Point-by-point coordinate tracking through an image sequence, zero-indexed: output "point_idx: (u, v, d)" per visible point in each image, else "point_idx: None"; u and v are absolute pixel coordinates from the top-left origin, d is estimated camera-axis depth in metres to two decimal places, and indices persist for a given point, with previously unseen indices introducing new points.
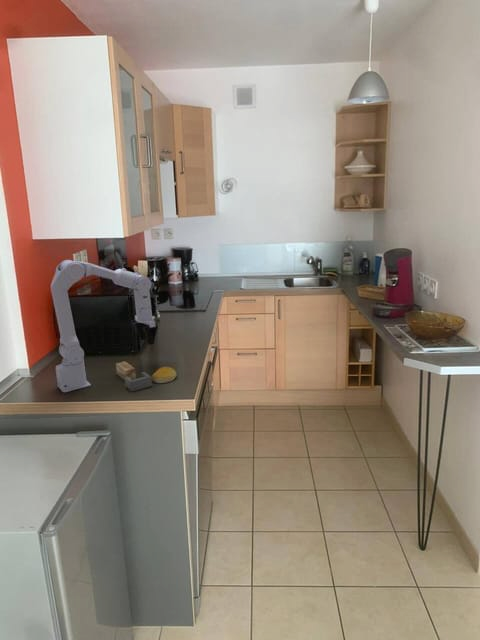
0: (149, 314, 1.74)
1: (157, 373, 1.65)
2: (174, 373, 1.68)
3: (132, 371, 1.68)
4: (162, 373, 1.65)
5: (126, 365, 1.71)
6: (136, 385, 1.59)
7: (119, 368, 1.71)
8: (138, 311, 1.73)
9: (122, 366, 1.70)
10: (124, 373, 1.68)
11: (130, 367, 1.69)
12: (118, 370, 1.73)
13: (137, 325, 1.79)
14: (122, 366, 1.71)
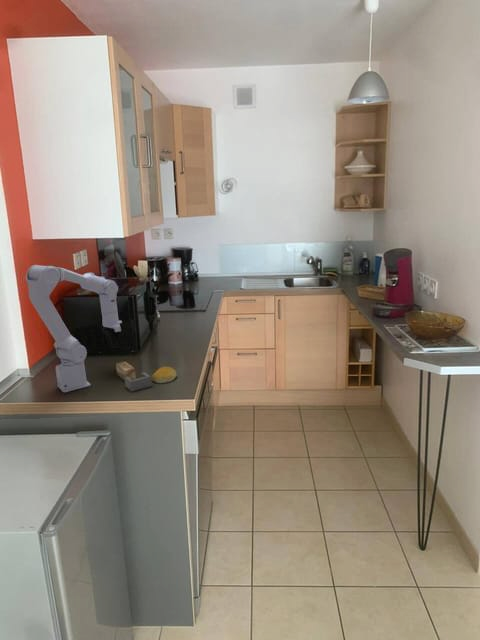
0: (115, 318, 1.73)
1: (157, 373, 1.65)
2: (174, 373, 1.68)
3: (132, 371, 1.68)
4: (162, 373, 1.65)
5: (126, 365, 1.71)
6: (136, 385, 1.59)
7: (119, 368, 1.71)
8: (104, 315, 1.72)
9: (122, 366, 1.70)
10: (124, 373, 1.68)
11: (130, 367, 1.69)
12: (118, 370, 1.73)
13: None
14: (121, 366, 1.71)
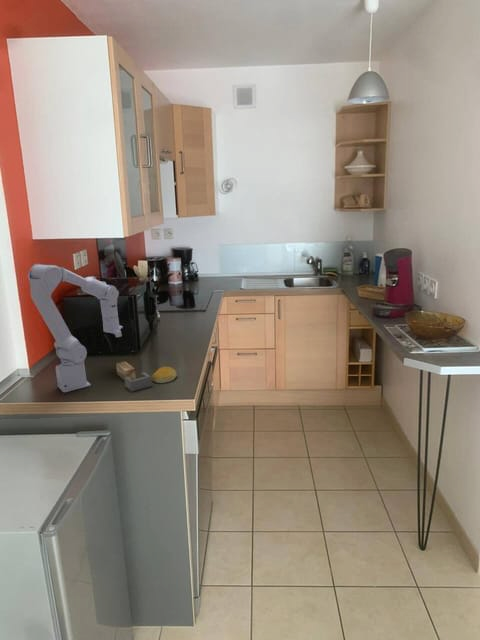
0: (116, 324, 1.74)
1: (157, 373, 1.65)
2: (174, 373, 1.68)
3: (132, 372, 1.68)
4: (162, 373, 1.65)
5: (126, 365, 1.71)
6: (136, 385, 1.59)
7: (119, 368, 1.71)
8: (104, 321, 1.73)
9: (122, 366, 1.70)
10: (124, 373, 1.68)
11: (130, 367, 1.69)
12: (118, 370, 1.73)
13: None
14: (121, 366, 1.71)
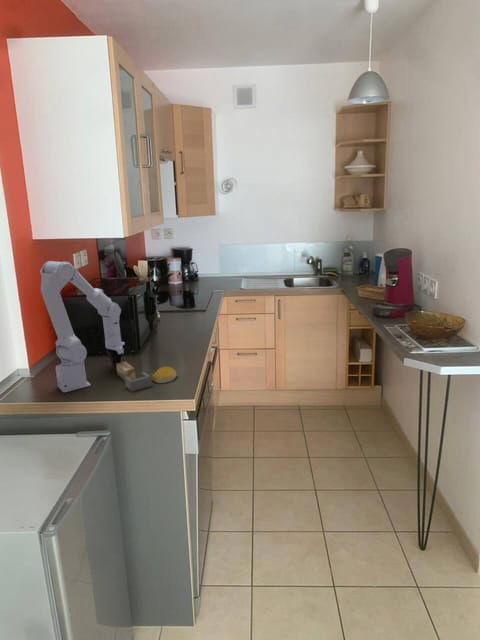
0: (118, 340, 1.75)
1: (157, 373, 1.65)
2: (174, 373, 1.68)
3: (132, 371, 1.67)
4: (162, 373, 1.65)
5: (126, 365, 1.71)
6: (136, 385, 1.59)
7: (119, 368, 1.71)
8: (107, 337, 1.74)
9: (122, 366, 1.70)
10: (124, 373, 1.68)
11: (130, 367, 1.69)
12: (118, 370, 1.73)
13: None
14: (121, 366, 1.71)
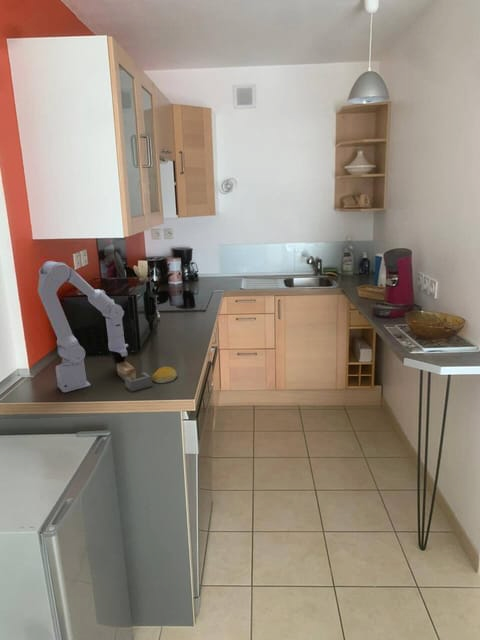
0: (121, 342, 1.72)
1: (157, 373, 1.65)
2: (174, 372, 1.68)
3: (132, 371, 1.67)
4: (162, 373, 1.65)
5: (126, 365, 1.71)
6: (136, 385, 1.59)
7: (119, 368, 1.71)
8: (110, 339, 1.71)
9: (122, 366, 1.70)
10: (124, 373, 1.67)
11: (130, 367, 1.69)
12: (119, 370, 1.72)
13: None
14: (122, 366, 1.71)
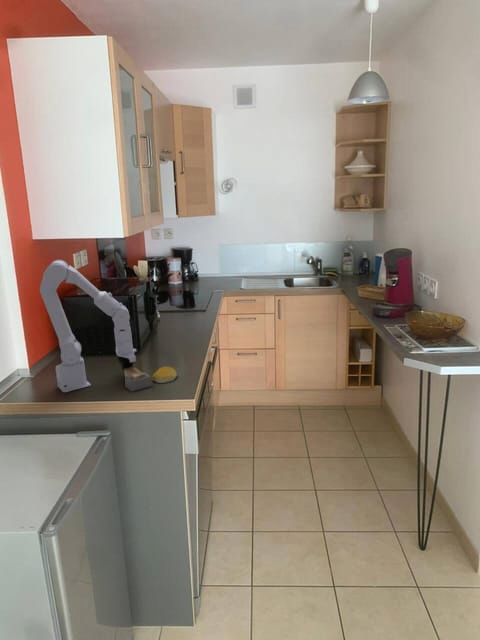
0: (130, 347, 1.66)
1: (158, 373, 1.65)
2: (175, 372, 1.68)
3: (141, 377, 1.61)
4: (163, 373, 1.65)
5: (134, 371, 1.65)
6: (136, 385, 1.59)
7: (128, 374, 1.65)
8: (118, 344, 1.65)
9: (131, 372, 1.63)
10: (133, 379, 1.61)
11: (139, 373, 1.62)
12: (127, 375, 1.66)
13: None
14: (130, 371, 1.64)
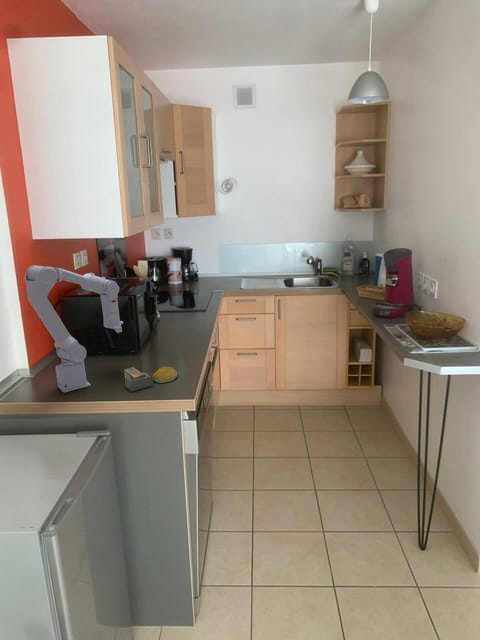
0: (116, 319, 1.72)
1: (158, 373, 1.65)
2: (175, 372, 1.68)
3: None
4: (163, 373, 1.65)
5: (134, 371, 1.65)
6: (136, 385, 1.59)
7: (127, 374, 1.65)
8: (105, 316, 1.71)
9: (131, 373, 1.63)
10: None
11: (139, 373, 1.62)
12: (127, 376, 1.66)
13: None
14: (130, 372, 1.64)
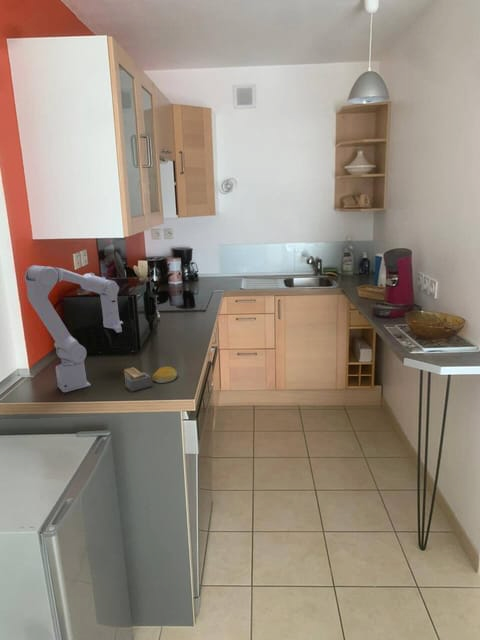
0: (116, 319, 1.73)
1: (158, 373, 1.65)
2: (175, 372, 1.68)
3: None
4: (163, 373, 1.65)
5: (134, 371, 1.65)
6: (136, 385, 1.59)
7: (127, 374, 1.65)
8: (105, 316, 1.71)
9: (131, 373, 1.63)
10: (133, 379, 1.61)
11: (139, 373, 1.62)
12: (127, 376, 1.66)
13: None
14: (130, 372, 1.64)
